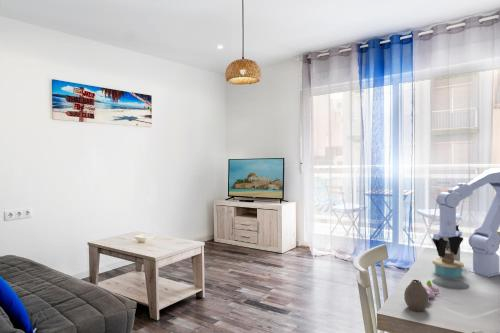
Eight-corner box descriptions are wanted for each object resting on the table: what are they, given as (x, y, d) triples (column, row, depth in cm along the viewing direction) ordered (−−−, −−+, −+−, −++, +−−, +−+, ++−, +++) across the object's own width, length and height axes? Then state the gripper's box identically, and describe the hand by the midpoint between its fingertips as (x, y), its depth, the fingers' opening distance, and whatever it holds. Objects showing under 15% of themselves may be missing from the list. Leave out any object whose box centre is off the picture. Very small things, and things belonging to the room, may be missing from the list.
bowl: (444, 270, 145) (444, 259, 145) (465, 276, 137) (465, 265, 137) (430, 273, 141) (430, 262, 141) (450, 280, 133) (450, 268, 133)
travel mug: (446, 259, 161) (446, 221, 161) (463, 263, 155) (463, 223, 154) (436, 261, 157) (436, 222, 157) (453, 266, 151) (453, 225, 150)
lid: (444, 259, 146) (444, 247, 146) (470, 265, 136) (470, 253, 136) (426, 262, 142) (426, 250, 141) (451, 269, 132) (451, 257, 131)
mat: (445, 278, 135) (445, 276, 135) (476, 287, 125) (476, 286, 125) (424, 282, 130) (424, 281, 130) (455, 293, 119) (455, 291, 119)
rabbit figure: (424, 293, 123) (409, 298, 113) (425, 276, 124) (410, 279, 113) (444, 298, 119) (429, 303, 108) (444, 280, 119) (430, 284, 109)
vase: (431, 314, 103) (431, 285, 103) (407, 312, 104) (407, 283, 104) (424, 305, 110) (424, 277, 110) (401, 303, 111) (401, 276, 111)
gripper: (444, 225, 132) (445, 260, 132) (469, 222, 138) (469, 255, 138) (428, 222, 138) (428, 255, 139) (452, 219, 145) (452, 251, 145)
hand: (447, 255), depth 139 cm, fingers open, 7 cm apart
